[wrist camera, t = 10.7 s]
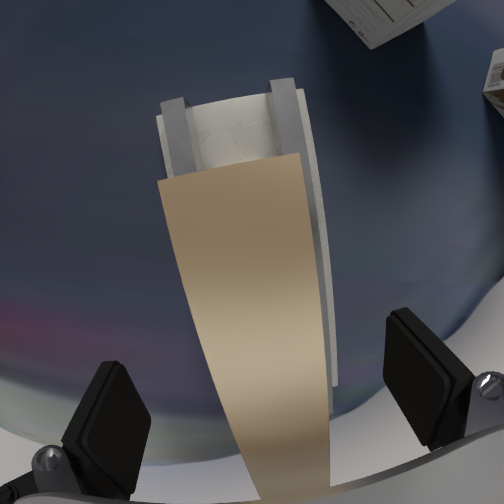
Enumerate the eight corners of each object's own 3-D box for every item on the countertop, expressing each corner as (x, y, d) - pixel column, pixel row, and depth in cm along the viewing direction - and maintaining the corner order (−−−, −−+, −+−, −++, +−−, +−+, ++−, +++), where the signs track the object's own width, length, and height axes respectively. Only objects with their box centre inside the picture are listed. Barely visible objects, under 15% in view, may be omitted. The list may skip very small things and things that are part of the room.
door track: (164, 120, 18) (140, 108, 14) (297, 95, 18) (314, 75, 13) (230, 389, 25) (228, 431, 20) (332, 371, 24) (347, 410, 20)
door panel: (213, 168, 18) (157, 181, 6) (262, 158, 17) (299, 152, 6) (255, 363, 22) (264, 508, 10) (295, 356, 22) (329, 497, 10)
